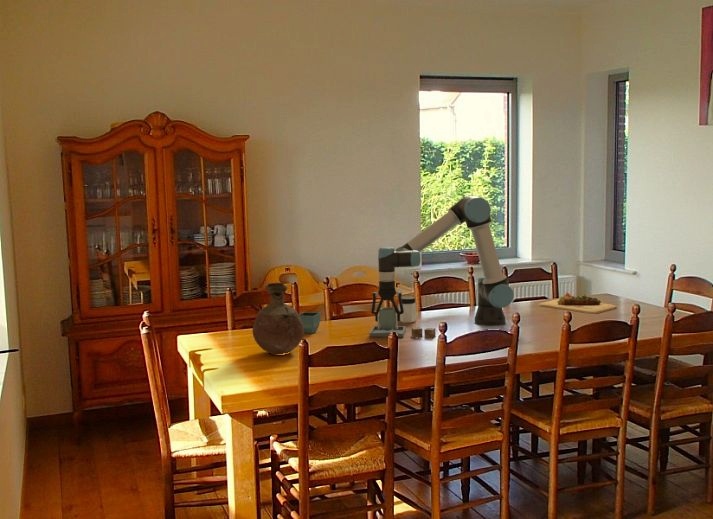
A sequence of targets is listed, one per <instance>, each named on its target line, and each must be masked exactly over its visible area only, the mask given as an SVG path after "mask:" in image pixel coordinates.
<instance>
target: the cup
mask: <svg viewBox="0 0 713 519" xmlns="http://www.w3.org/2000/svg"><path fill="white" fill-rule="evenodd" d="M378 314H379V320H380V326H381V328H382V329H383V330H385V331H390V330H393V329H394V328H395V326H396V314H397V313H396V311H395V308H394V307H391V306H389V307H381V308H380V310H379V313H378Z"/></svg>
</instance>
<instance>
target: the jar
mask: <svg viewBox="0 0 713 519" xmlns="http://www.w3.org/2000/svg"><path fill="white" fill-rule="evenodd" d="M401 298H402V304H403V309H404V313H403V314H400V322H401V323H413V322H417V321H418V320H417V302H416V297H415V296H411V295H409V296H408V295H407V296H406V295H405V296H403V295H402V296H401ZM398 309H399V311H401V310H400V305H399V304H398Z"/></svg>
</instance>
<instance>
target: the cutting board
mask: <svg viewBox="0 0 713 519" xmlns="http://www.w3.org/2000/svg"><path fill="white" fill-rule="evenodd" d="M538 307H541V308H542V307H543V308H549V309H557V310H563V311H570V312H578V313H583V314H584V313H585V314H593V315H596V314H600V313H604V312H607V311H611V310H615V309H617V308H618V306H617V305H614V304H610V303H605V302H604V303H603V302H602V301H601V300H600V299H598V298H597V297H592V296H588V295H586V294H582V295H581V296H580V295H578V294H577V295H576V296H574V295H571V294H570V293H569V292H565V294H564V295H563V296H560V297H559V298H557V299H553V300H548V301H545V302H540V303H538Z"/></svg>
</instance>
